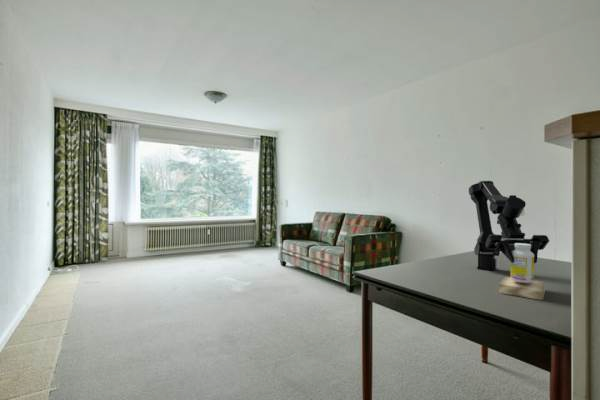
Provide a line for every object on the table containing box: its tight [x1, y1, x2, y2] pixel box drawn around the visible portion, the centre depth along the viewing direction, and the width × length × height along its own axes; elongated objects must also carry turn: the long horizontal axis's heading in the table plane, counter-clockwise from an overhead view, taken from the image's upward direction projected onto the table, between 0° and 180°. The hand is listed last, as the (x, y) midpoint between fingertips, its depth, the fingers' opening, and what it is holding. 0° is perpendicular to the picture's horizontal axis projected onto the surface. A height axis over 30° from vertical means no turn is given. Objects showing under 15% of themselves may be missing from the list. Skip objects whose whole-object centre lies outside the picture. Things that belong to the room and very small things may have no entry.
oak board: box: [498, 276, 547, 301], centre depth 110 cm, size 12×12×3 cm
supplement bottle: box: [509, 243, 535, 283], centre depth 110 cm, size 7×7×13 cm
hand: (524, 262), depth 108 cm, fingers closed on supplement bottle, 7 cm apart
